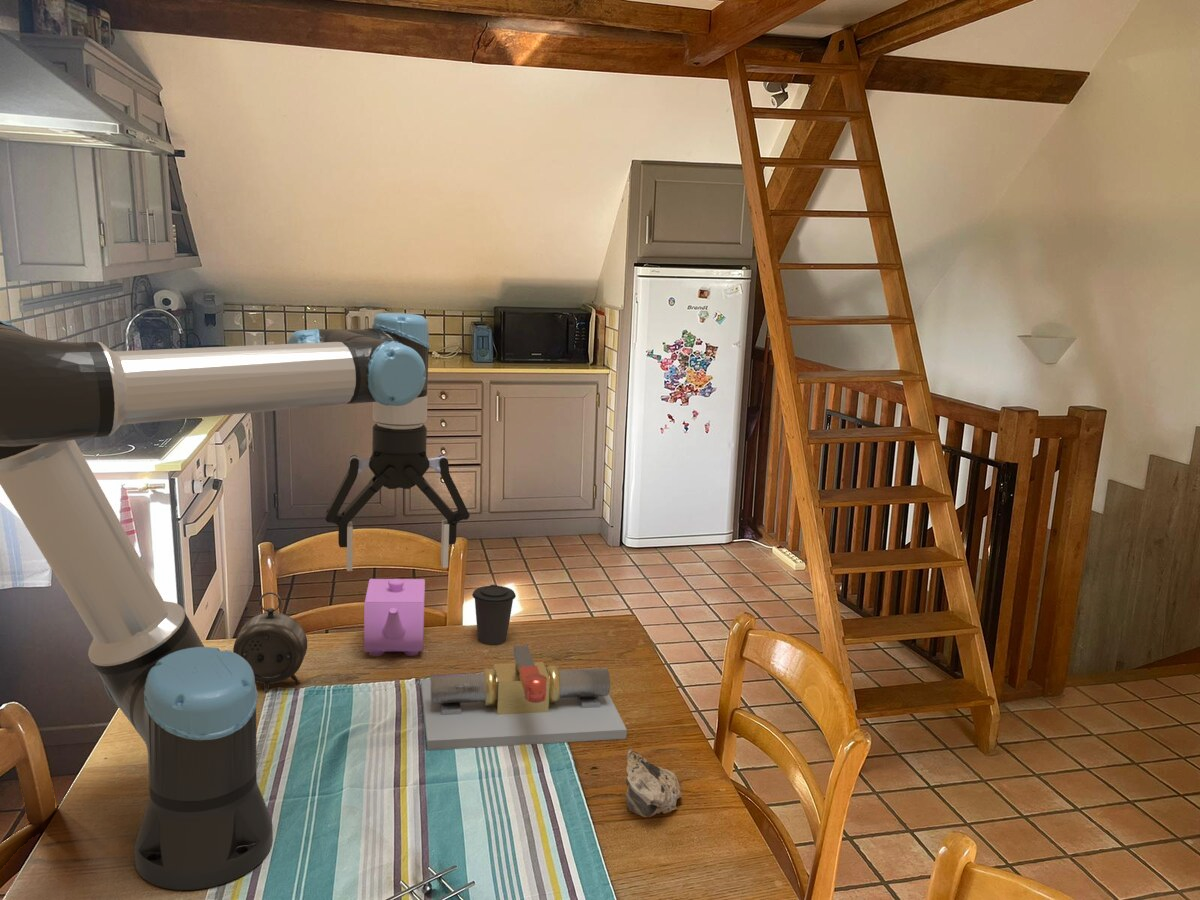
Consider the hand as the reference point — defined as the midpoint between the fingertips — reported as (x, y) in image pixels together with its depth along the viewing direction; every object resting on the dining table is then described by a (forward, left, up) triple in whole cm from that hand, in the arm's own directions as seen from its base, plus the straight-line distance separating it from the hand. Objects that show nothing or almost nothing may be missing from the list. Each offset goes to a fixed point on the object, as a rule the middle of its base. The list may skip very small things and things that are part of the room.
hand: (397, 566), depth 140 cm
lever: (-3, -20, -18) cm, 27 cm away
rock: (-25, -34, -26) cm, 49 cm away
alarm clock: (+16, +19, -26) cm, 36 cm away
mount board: (+3, -20, -26) cm, 32 cm away
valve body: (+3, -20, -24) cm, 31 cm away
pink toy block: (+29, -1, -26) cm, 39 cm away
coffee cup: (+32, -19, -26) cm, 45 cm away
